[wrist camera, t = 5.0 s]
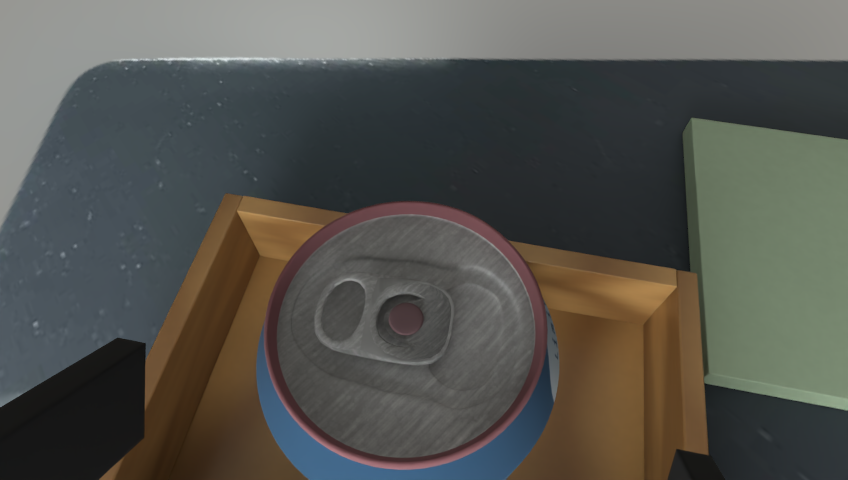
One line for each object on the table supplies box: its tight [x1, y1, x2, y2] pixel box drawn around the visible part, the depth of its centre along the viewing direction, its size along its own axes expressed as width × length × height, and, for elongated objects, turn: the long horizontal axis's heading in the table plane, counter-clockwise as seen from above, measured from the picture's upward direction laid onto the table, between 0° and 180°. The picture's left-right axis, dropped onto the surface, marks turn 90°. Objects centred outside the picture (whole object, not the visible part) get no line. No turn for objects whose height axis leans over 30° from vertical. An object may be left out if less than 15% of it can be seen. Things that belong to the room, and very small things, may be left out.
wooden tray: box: [99, 193, 709, 480], centre depth 20 cm, size 19×15×4 cm
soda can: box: [256, 201, 559, 480], centre depth 16 cm, size 7×7×12 cm
